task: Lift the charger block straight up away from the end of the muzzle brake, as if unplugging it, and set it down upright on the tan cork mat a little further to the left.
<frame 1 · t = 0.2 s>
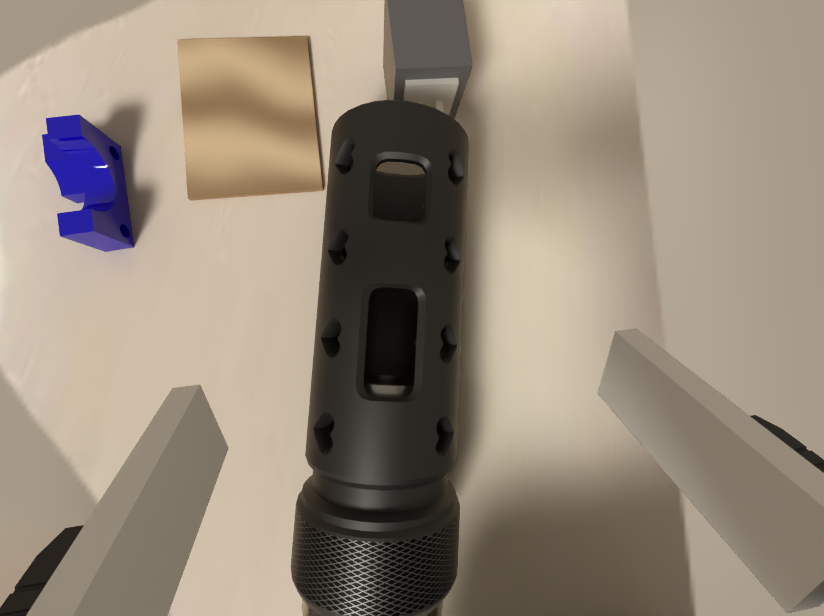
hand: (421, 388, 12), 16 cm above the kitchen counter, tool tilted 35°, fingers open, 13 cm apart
mat: (251, 117, 28), on the kitchen counter
muzzle brake: (385, 354, 28), on the kitchen counter
cable holder: (106, 201, 27), on the kitchen counter
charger: (416, 98, 30), on the kitchen counter
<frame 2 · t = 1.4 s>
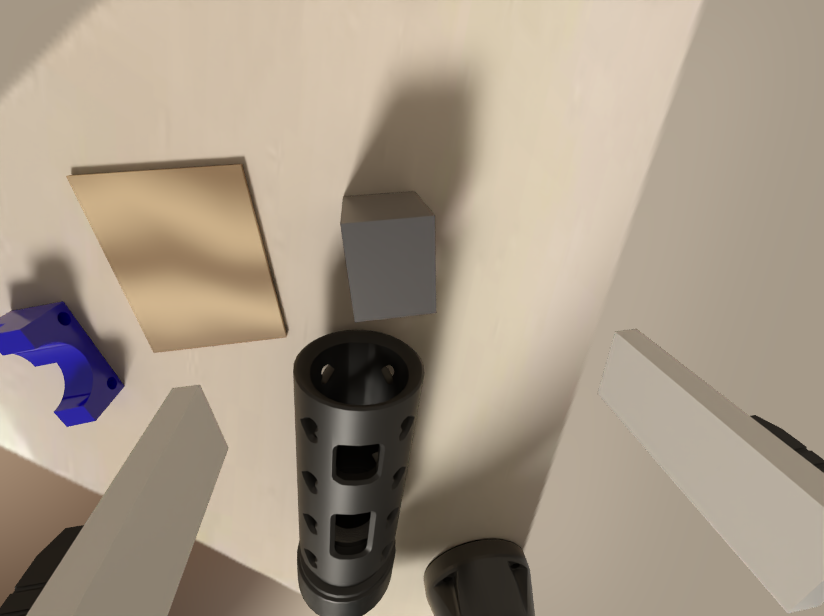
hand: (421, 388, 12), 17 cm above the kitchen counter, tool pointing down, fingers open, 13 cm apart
mat: (194, 266, 25), on the kitchen counter
muzzle brake: (351, 438, 36), on the kitchen counter
cable holder: (75, 348, 27), on the kitchen counter
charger: (382, 235, 26), on the kitchen counter
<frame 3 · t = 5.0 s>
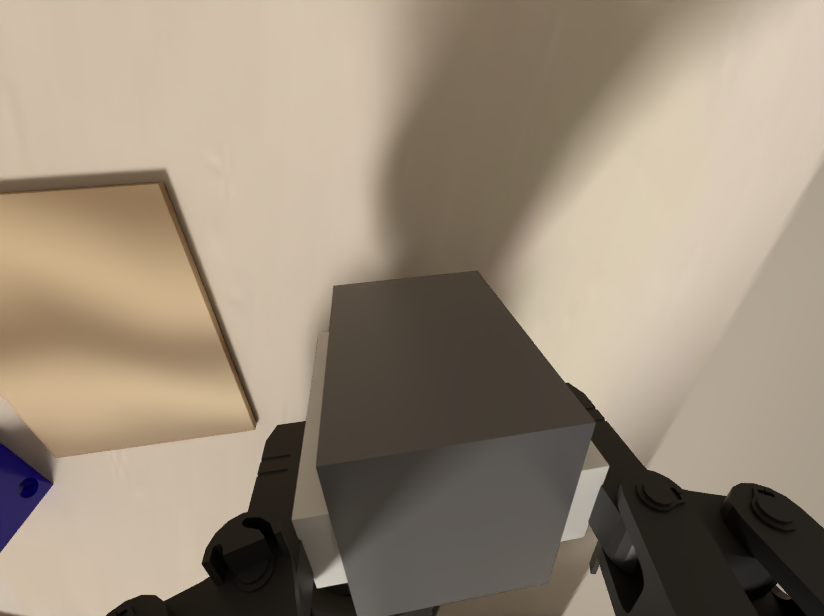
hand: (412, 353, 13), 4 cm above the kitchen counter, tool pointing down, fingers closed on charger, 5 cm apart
mat: (103, 340, 16), on the kitchen counter
muzzle brake: (351, 534, 27), on the kitchen counter
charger: (411, 348, 14), point 4 cm above the kitchen counter, touching gripper
when the fingers open (1 cm above the kitchen counter, at t = 9.5 s): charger stays where it is, resting on mat.
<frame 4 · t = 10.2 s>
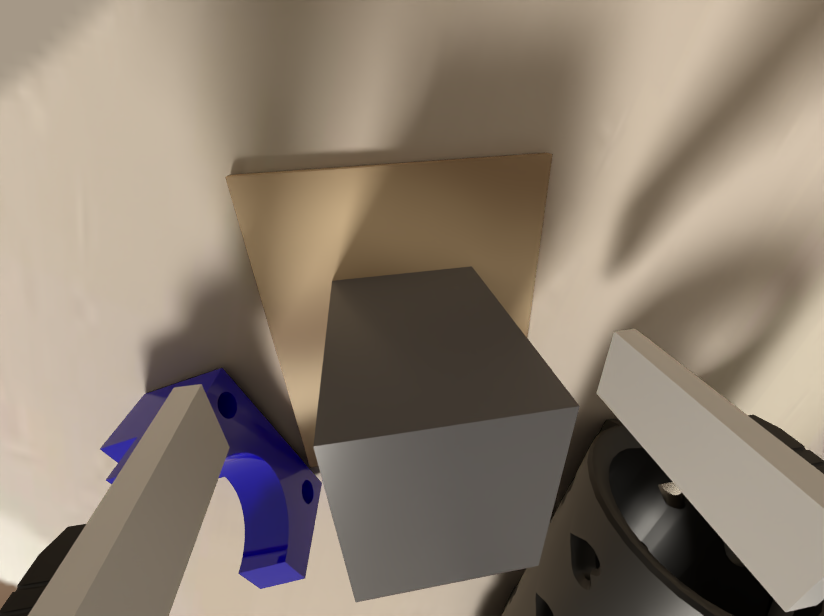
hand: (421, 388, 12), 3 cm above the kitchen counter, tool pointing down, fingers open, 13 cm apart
mat: (406, 335, 14), on the kitchen counter
muzzle brake: (537, 548, 25), on the kitchen counter
cable holder: (244, 439, 16), on the kitchen counter, touching gripper
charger: (407, 342, 14), resting on mat
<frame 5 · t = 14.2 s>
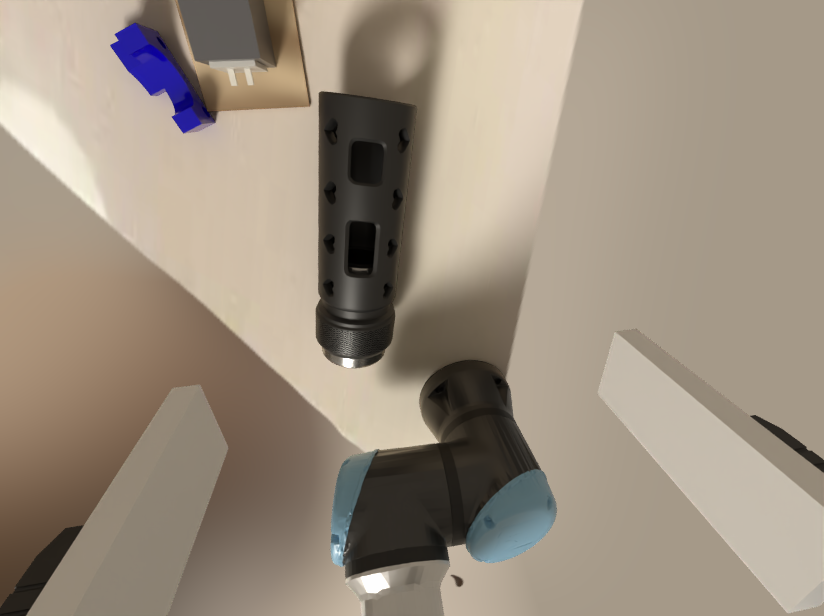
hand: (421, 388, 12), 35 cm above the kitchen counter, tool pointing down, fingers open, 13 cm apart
mat: (242, 28, 33), on the kitchen counter
muzzle brake: (359, 229, 44), on the kitchen counter
cable holder: (174, 88, 35), on the kitchen counter
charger: (241, 29, 33), resting on mat
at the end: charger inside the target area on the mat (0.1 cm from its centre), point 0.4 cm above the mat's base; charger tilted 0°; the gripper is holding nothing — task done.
